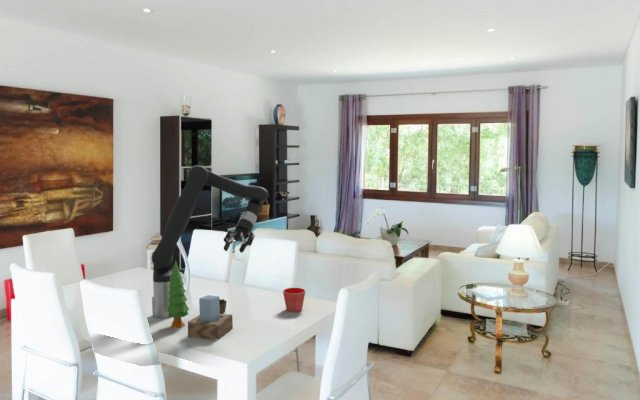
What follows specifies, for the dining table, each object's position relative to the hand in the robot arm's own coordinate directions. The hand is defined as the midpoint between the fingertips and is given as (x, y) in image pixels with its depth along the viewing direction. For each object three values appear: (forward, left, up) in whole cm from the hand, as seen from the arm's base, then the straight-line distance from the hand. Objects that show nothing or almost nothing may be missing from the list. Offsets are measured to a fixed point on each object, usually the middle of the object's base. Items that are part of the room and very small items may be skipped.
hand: (232, 250), depth 240 cm
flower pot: (+24, +20, -33) cm, 46 cm away
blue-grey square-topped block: (-5, -18, -27) cm, 33 cm away
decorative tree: (-23, -11, -33) cm, 41 cm away
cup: (-9, +3, -33) cm, 34 cm away
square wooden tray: (-5, -17, -33) cm, 38 cm away
